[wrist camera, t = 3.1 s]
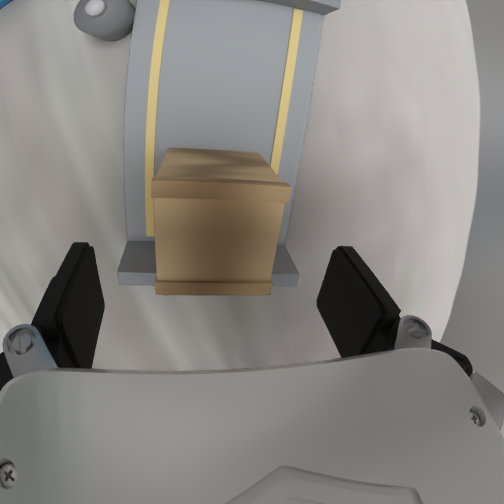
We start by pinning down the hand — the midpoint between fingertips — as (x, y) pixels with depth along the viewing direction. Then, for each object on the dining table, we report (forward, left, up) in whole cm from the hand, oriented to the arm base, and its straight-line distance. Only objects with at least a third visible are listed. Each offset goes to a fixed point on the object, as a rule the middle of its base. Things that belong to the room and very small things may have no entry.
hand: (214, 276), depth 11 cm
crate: (0, +1, -11) cm, 11 cm away
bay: (+1, -4, -12) cm, 12 cm away
